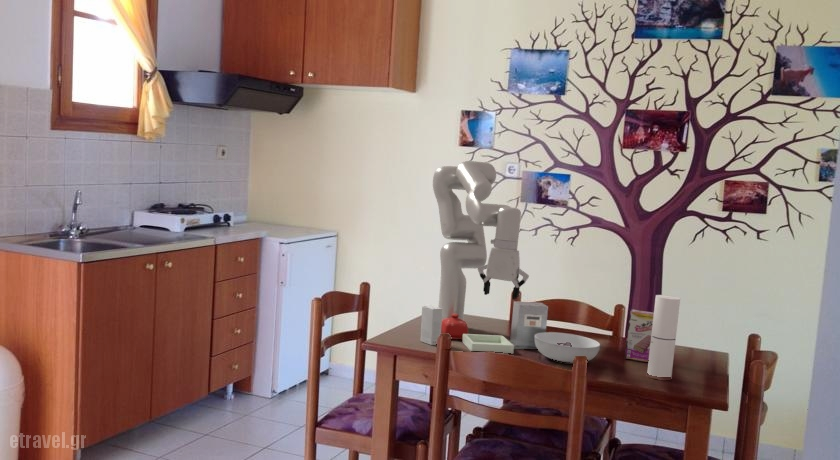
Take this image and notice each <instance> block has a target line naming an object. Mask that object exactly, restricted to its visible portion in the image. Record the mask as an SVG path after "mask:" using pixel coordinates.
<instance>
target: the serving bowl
mask: <svg viewBox="0 0 840 460" xmlns="http://www.w3.org/2000/svg"><path fill="white" fill-rule="evenodd" d="M566 342H570V343H571V345H572V347H570V346H563V345H558V344H557V343H566ZM535 345H536V347H537V349H538V350H537V351H538V352H539V353H540V354H541V355H543V356H544V357H546V358H548V359H551V360H552V359H553V360H552V361H555V360H557V361H556V362H558V361H562V362H570V363H569V364H574V363H573V360H574V358H575V356H586V357H587V359H588V361H587V362H589V361H591V360H593V359H594V358H595V357H596V356H597V355H598V353H599V352H600V347H601V344H600V342H598V341H597V340H595V339H594V338H589V337H586V336H583V335H579V334H578V335H577V334H573V333H566V332H557V331H556V332H555V331H551V332H550V331H549V332H547V331H546V332H543V333H538V334H536V335H535ZM562 362H561V363H562Z"/></svg>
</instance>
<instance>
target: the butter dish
mask: <svg viewBox="0 0 840 460" xmlns="http://www.w3.org/2000/svg"><path fill="white" fill-rule="evenodd" d="M458 317H459V315H458V314H452V318H445V319H443V320H442V324H441V333H449V334H450V335H451V337H452V339H451V340H460V341H461V340H462V338H463V334H469V329H468V327H469V326H468V323H467V322H466V321H465V320H464V319H463V320H462V319H459V318H458Z"/></svg>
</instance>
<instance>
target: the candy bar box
mask: <svg viewBox="0 0 840 460" xmlns="http://www.w3.org/2000/svg"><path fill="white" fill-rule="evenodd" d="M653 316H654V312H651V311H646V310H645V311H644V310H638V309H630V312H629V319H628V320H629V321H628V326H627V334H626V336H627V337H626V342H625V343H626V344H625V352H624V358H625V357H630V358H637V359H644V360H649V352H650V343H651V334H652V325H653Z"/></svg>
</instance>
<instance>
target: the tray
mask: <svg viewBox="0 0 840 460" xmlns="http://www.w3.org/2000/svg"><path fill="white" fill-rule="evenodd" d="M508 340H509V339H507V338H506V337H505V336H503V335H499V334H498V335H496V334H493V335H492V334H477V333H476V334H474V333H468V334H463V338H462V343H463V344H464V346H466V347H467V349H468V350H469V351H470V352H471V351H494V352H503V353H502V354H508V353H511V355H512V354H514V351H515V349H514V345H513V344H512V343H510V342H509V341H508Z"/></svg>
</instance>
